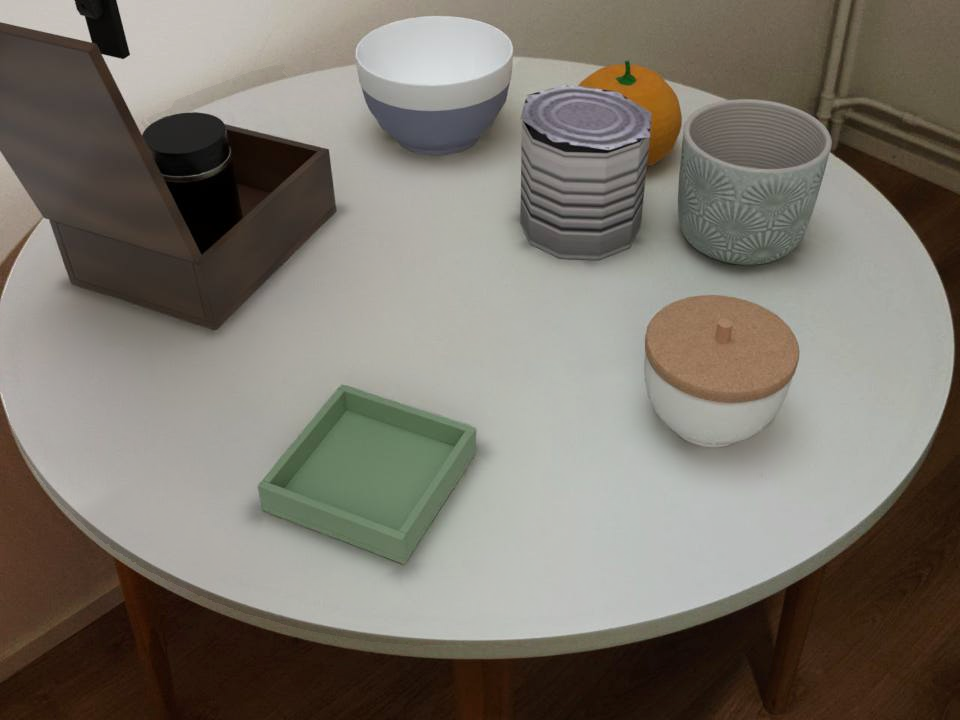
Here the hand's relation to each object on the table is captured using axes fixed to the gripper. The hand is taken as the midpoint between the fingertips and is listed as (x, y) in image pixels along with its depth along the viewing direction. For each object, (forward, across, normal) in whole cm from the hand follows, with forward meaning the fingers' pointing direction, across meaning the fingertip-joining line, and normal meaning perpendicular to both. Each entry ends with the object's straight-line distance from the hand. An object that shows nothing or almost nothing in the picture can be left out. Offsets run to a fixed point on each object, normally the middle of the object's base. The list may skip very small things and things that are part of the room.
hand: (170, 18), depth 82 cm
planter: (+22, +21, -43) cm, 53 cm away
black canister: (+21, 0, +1) cm, 21 cm away
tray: (+22, -19, -27) cm, 40 cm away
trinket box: (+22, -3, -47) cm, 52 cm away
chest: (+22, 0, +1) cm, 22 cm away
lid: (+4, -12, +1) cm, 13 cm away
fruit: (+22, +31, -28) cm, 47 cm away
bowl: (+22, +27, -9) cm, 36 cm away
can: (+22, +17, -29) cm, 40 cm away
